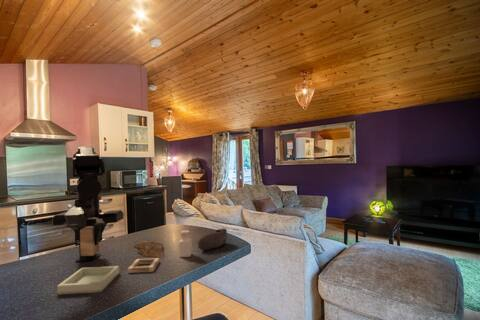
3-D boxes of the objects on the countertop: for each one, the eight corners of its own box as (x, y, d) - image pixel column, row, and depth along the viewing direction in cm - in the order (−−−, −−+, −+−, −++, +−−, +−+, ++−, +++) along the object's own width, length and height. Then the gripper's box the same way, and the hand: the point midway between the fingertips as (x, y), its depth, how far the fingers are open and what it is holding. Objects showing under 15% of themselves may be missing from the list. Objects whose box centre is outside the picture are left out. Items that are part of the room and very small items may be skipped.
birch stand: (136, 263, 91) (136, 258, 91) (159, 261, 92) (159, 257, 92) (128, 272, 83) (128, 268, 83) (152, 271, 84) (152, 267, 84)
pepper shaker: (182, 253, 99) (182, 229, 99) (192, 253, 99) (191, 229, 99) (179, 257, 95) (178, 232, 96) (189, 257, 95) (188, 232, 95)
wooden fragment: (131, 244, 113) (131, 242, 113) (155, 239, 119) (155, 237, 119) (145, 263, 92) (145, 260, 92) (174, 256, 98) (174, 253, 98)
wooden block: (87, 251, 79) (86, 226, 79) (99, 251, 79) (98, 225, 79) (80, 256, 75) (79, 229, 75) (92, 255, 75) (92, 229, 75)
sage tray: (82, 275, 83) (81, 267, 83) (119, 273, 83) (118, 265, 83) (57, 294, 71) (57, 285, 71) (101, 292, 71) (100, 283, 71)
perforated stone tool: (201, 254, 99) (201, 236, 99) (194, 250, 103) (194, 233, 103) (231, 245, 109) (230, 229, 109) (223, 242, 112) (223, 226, 113)
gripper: (37, 200, 68) (38, 256, 68) (107, 197, 69) (108, 253, 69) (63, 194, 80) (65, 243, 80) (123, 192, 81) (124, 240, 81)
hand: (89, 245), depth 77 cm, fingers closed on wooden block, 4 cm apart
